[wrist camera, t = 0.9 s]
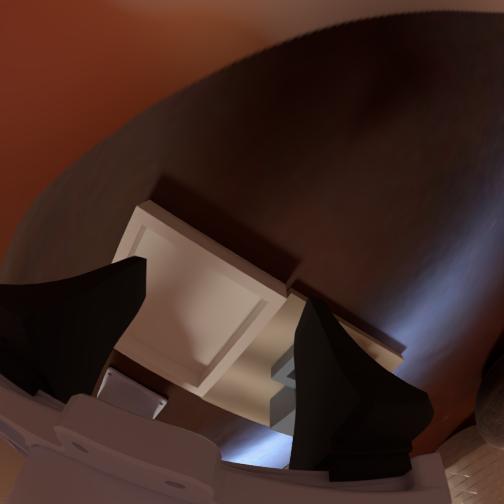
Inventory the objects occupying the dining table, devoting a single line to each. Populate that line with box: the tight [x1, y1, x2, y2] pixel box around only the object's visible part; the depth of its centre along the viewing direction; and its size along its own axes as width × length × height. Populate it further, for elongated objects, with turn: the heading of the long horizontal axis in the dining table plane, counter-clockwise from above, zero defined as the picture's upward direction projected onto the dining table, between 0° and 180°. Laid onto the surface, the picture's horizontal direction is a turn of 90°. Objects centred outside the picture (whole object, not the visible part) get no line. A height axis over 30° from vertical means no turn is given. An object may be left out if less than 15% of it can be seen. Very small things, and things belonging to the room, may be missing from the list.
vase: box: [435, 425, 504, 504], centre depth 23 cm, size 18×17×23 cm
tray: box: [112, 200, 287, 397], centre depth 23 cm, size 14×13×2 cm
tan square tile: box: [201, 287, 404, 427], centre depth 24 cm, size 16×15×6 cm
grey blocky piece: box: [270, 344, 296, 436], centre depth 24 cm, size 9×8×4 cm
